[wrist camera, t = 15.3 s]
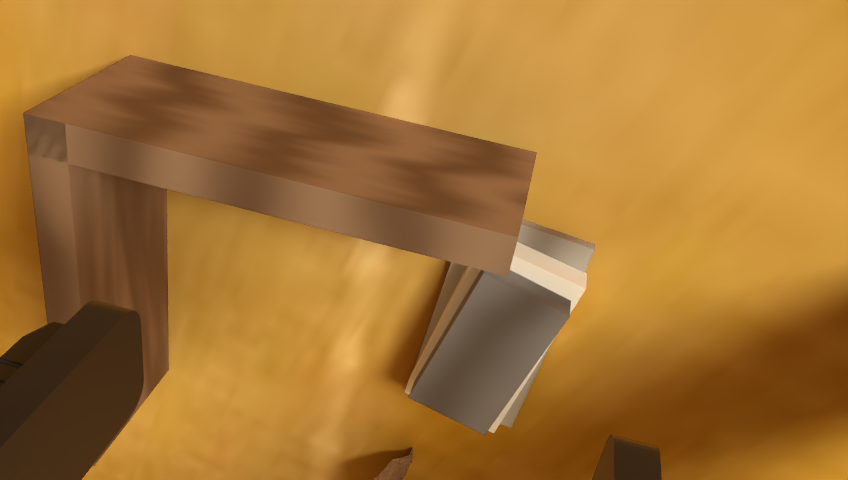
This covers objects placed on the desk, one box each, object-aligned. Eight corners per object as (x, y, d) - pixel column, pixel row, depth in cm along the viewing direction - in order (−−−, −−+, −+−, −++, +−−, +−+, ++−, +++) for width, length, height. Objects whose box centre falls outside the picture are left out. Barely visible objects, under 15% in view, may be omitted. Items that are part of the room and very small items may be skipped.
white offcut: (587, 273, 42) (585, 288, 41) (497, 416, 49) (493, 433, 47) (486, 227, 42) (482, 241, 41) (409, 376, 49) (404, 392, 47)
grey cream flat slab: (595, 236, 43) (594, 249, 41) (513, 412, 50) (511, 428, 49) (474, 194, 43) (470, 206, 42) (411, 375, 50) (406, 390, 49)
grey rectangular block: (571, 300, 41) (569, 316, 40) (488, 417, 47) (484, 435, 46) (487, 258, 41) (483, 273, 40) (414, 380, 47) (408, 397, 45)
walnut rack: (536, 152, 40) (518, 237, 32) (457, 450, 51) (430, 565, 44) (130, 55, 42) (23, 113, 34) (141, 362, 54) (62, 456, 46)
